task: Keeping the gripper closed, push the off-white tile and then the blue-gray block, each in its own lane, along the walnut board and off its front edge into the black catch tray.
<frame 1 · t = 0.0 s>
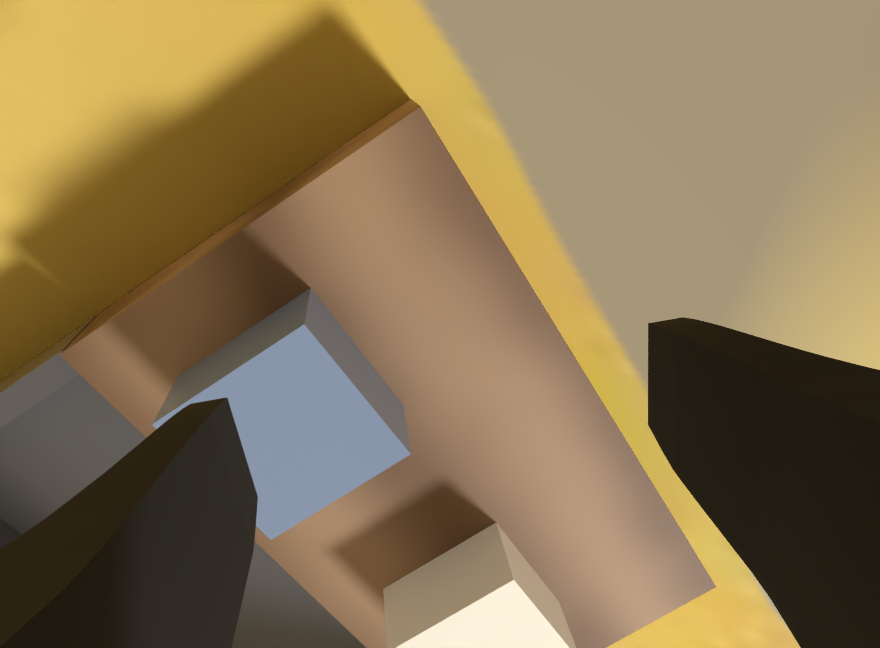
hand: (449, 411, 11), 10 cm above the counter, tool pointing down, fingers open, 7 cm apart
blue-gray block: (294, 391, 18), point 3 cm above the counter, touching walnut board
walnut board: (430, 437, 23), on the counter
white tile: (473, 595, 22), point 3 cm above the counter, touching walnut board
catch tray: (214, 570, 24), on the counter
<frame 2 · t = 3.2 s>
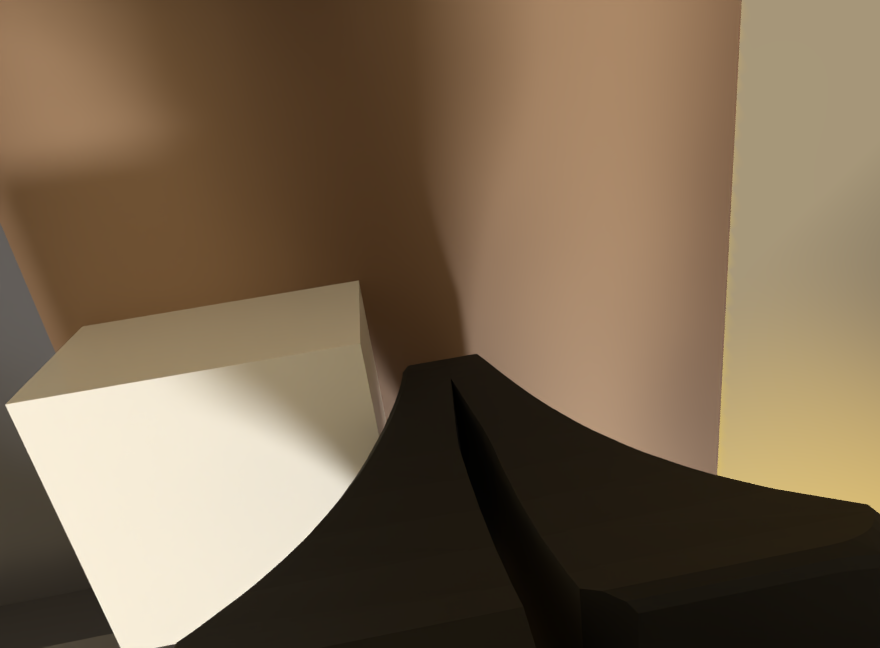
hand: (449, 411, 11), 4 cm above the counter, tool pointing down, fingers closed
walnut board: (371, 118, 12), on the counter
white tile: (256, 419, 11), point 3 cm above the counter, touching gripper, walnut board
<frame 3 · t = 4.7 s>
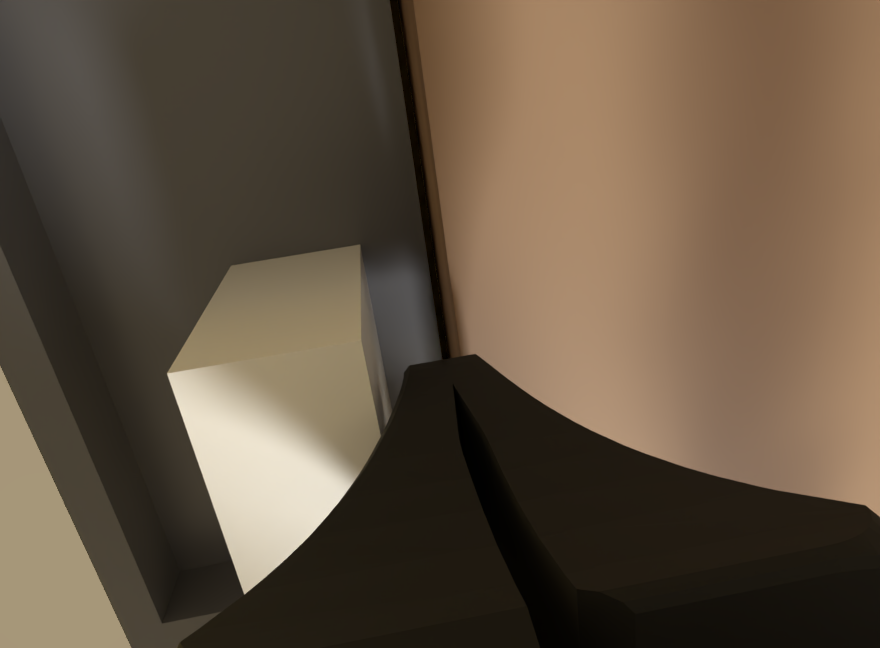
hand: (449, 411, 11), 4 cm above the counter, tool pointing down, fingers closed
walnut board: (694, 70, 13), on the counter
white tile: (383, 401, 11), point 3 cm above the counter, tilted 90°, touching catch tray, gripper
catch tray: (208, 144, 12), on the counter
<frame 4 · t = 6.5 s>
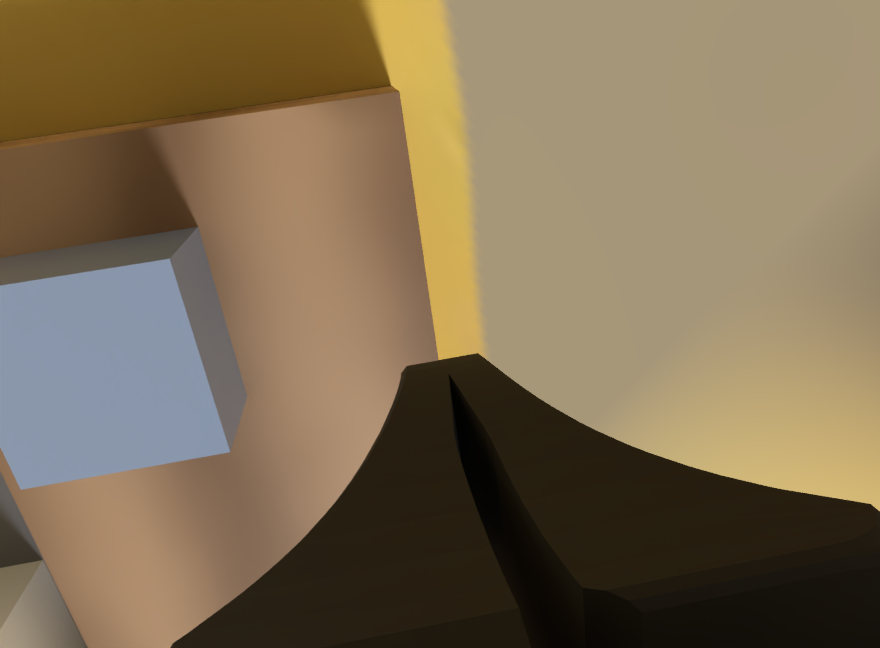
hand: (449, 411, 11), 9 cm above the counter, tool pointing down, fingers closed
blue-gray block: (129, 332, 15), point 3 cm above the counter, touching walnut board
walnut board: (262, 442, 20), on the counter
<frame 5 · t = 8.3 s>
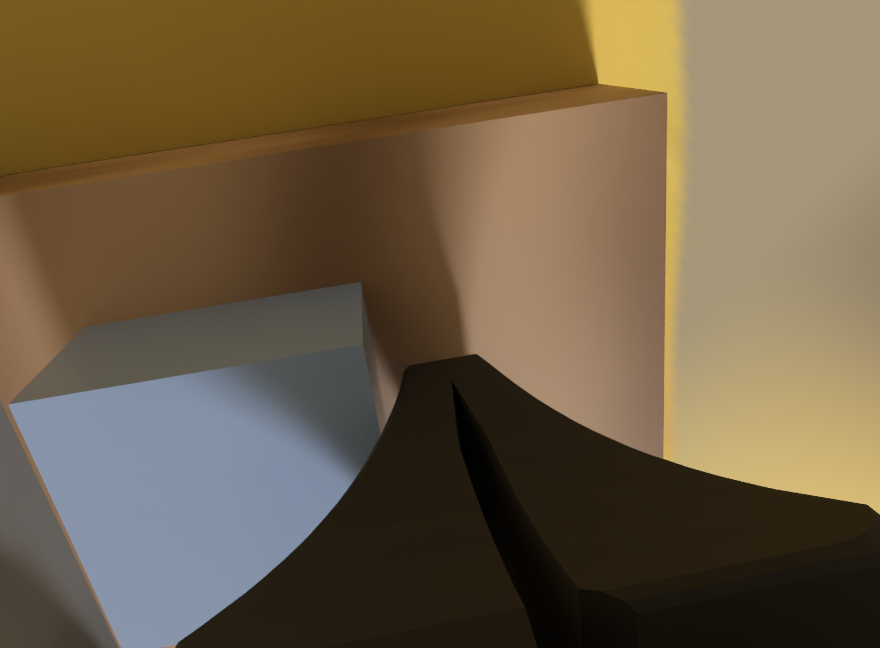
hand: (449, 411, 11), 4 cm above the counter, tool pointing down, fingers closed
blue-gray block: (257, 420, 11), point 3 cm above the counter, touching gripper
walnut board: (395, 527, 16), on the counter
catch tray: (7, 602, 16), on the counter
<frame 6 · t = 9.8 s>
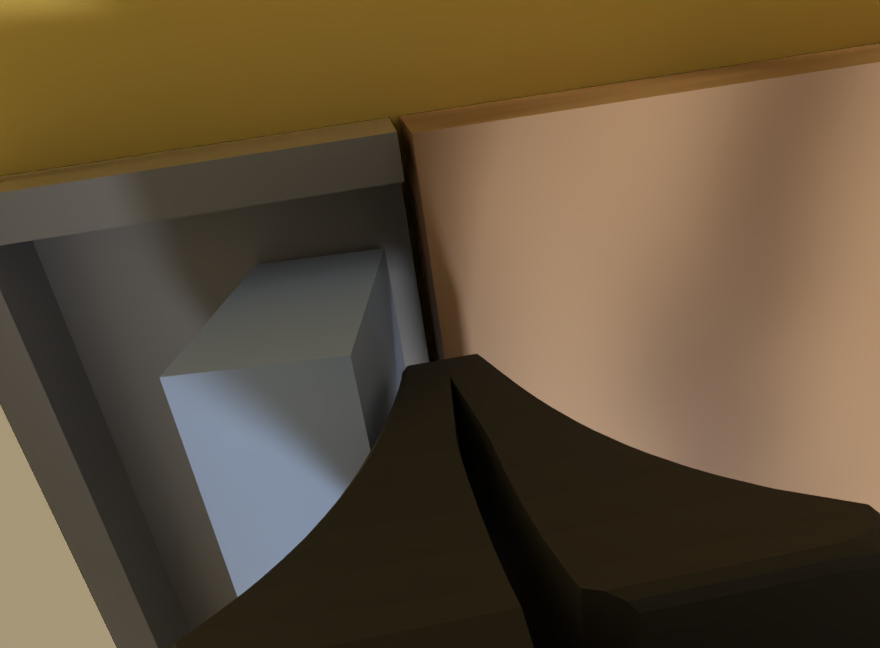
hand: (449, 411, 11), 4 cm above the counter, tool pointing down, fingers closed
blue-gray block: (393, 412, 11), point 4 cm above the counter, tilted 98°, touching catch tray, gripper
walnut board: (672, 474, 17), on the counter
catch tray: (305, 545, 16), on the counter
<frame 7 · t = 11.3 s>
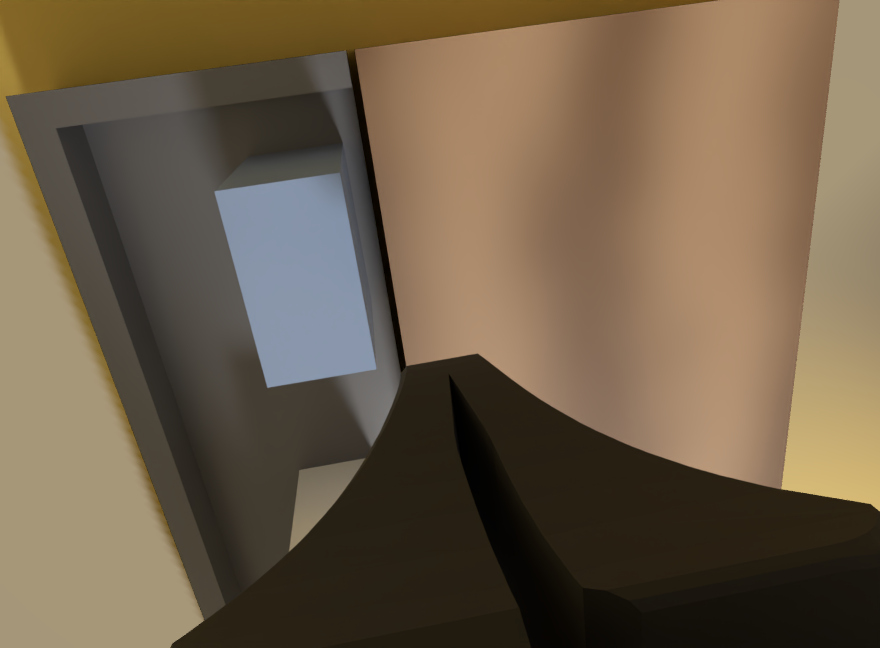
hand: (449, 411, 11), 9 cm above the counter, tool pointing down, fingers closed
blue-gray block: (358, 247, 16), point 3 cm above the counter, tilted 90°, touching catch tray
walnut board: (577, 348, 21), on the counter
white tile: (390, 558, 20), point 3 cm above the counter, tilted 90°, touching catch tray
catch tray: (286, 397, 21), on the counter
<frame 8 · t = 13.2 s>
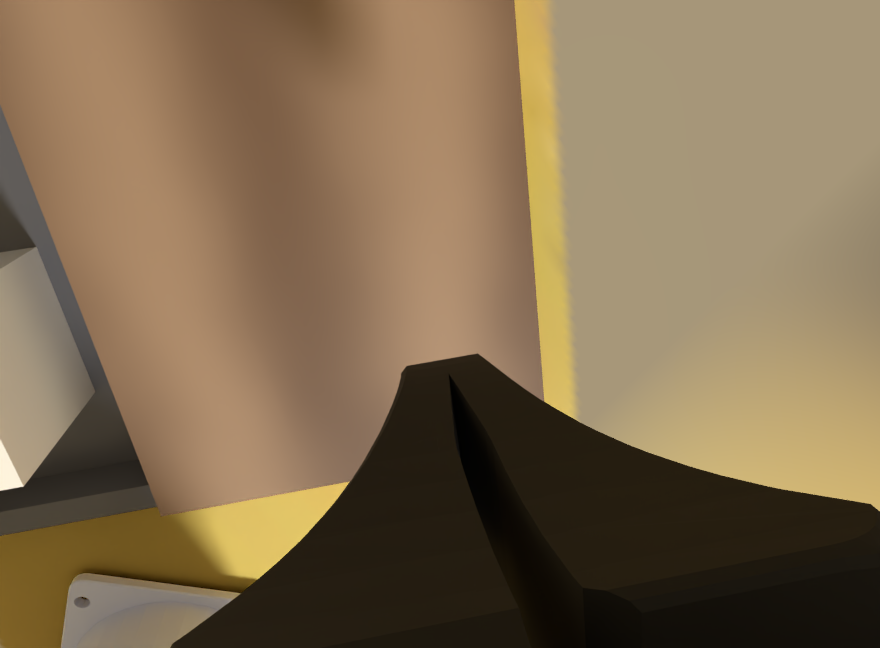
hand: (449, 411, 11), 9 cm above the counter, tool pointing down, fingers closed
walnut board: (290, 119, 18), on the counter
white tile: (30, 358, 16), point 3 cm above the counter, tilted 90°, touching catch tray
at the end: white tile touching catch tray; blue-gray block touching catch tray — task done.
